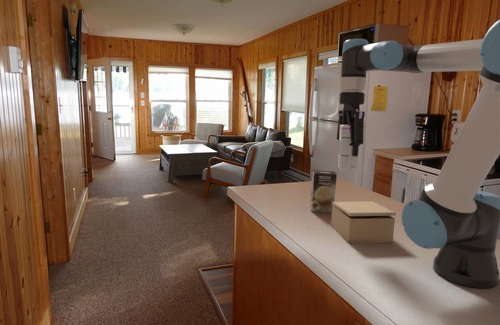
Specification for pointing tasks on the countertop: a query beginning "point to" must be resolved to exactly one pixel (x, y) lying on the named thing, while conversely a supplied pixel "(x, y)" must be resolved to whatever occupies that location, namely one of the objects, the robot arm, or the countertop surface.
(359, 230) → the cardboard box
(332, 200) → the coffee box
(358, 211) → the box lid
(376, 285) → the countertop surface
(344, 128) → the syrup box
